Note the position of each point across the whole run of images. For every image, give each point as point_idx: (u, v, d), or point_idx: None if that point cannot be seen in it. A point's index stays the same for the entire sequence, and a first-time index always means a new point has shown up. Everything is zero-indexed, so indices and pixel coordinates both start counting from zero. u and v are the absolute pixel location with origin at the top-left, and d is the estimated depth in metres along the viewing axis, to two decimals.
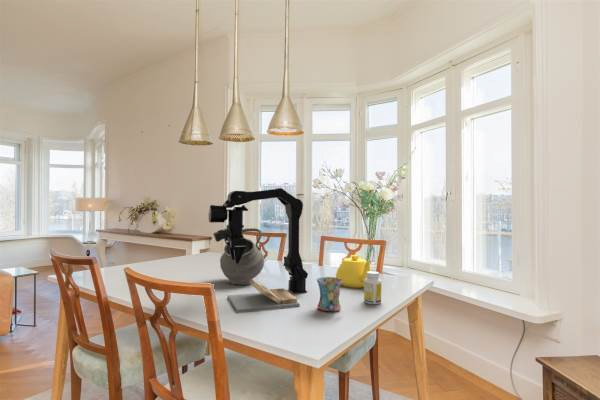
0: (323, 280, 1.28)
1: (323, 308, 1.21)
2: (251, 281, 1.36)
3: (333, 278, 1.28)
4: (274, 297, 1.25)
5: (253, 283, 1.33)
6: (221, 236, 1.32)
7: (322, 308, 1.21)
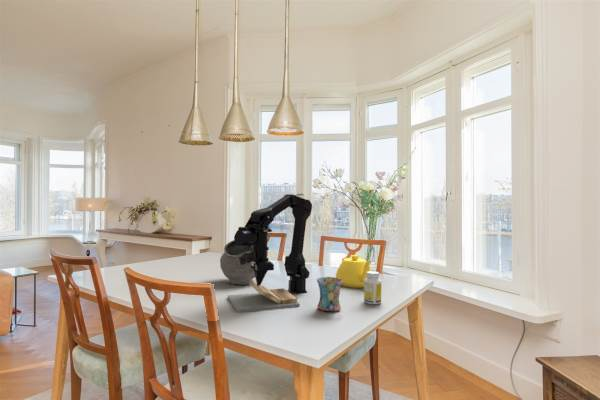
0: (323, 280, 1.28)
1: (323, 308, 1.21)
2: (251, 282, 1.36)
3: (333, 278, 1.28)
4: (274, 297, 1.25)
5: (253, 284, 1.33)
6: (246, 259, 1.25)
7: (322, 308, 1.21)
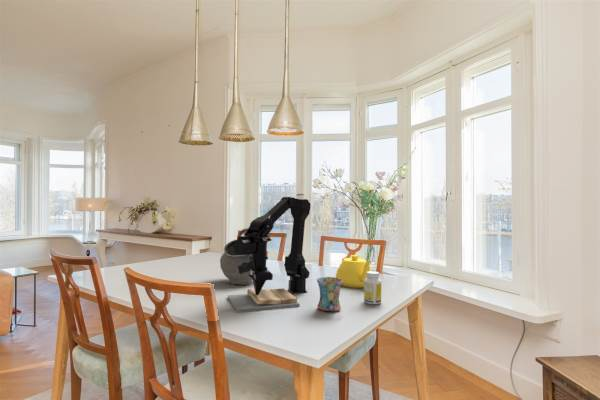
0: (323, 280, 1.28)
1: (323, 308, 1.21)
2: (248, 292, 1.35)
3: (333, 278, 1.28)
4: (273, 301, 1.25)
5: (250, 294, 1.32)
6: (245, 269, 1.25)
7: (322, 308, 1.21)
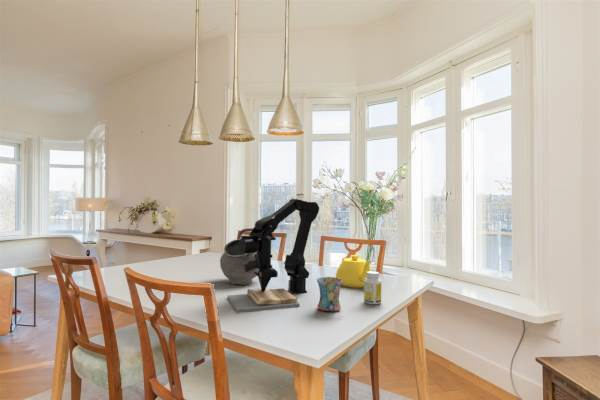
0: (323, 280, 1.28)
1: (323, 308, 1.21)
2: (248, 292, 1.35)
3: (333, 278, 1.28)
4: (273, 301, 1.25)
5: (250, 294, 1.32)
6: (251, 267, 1.31)
7: (322, 308, 1.21)
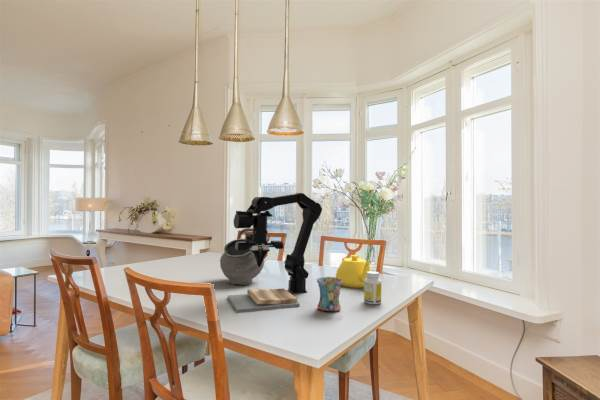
0: (323, 280, 1.28)
1: (323, 308, 1.21)
2: (248, 292, 1.35)
3: (333, 278, 1.28)
4: (273, 301, 1.25)
5: (250, 294, 1.32)
6: (245, 239, 1.43)
7: (322, 308, 1.21)
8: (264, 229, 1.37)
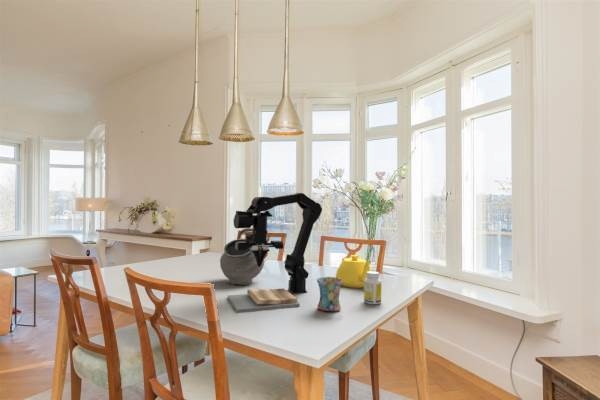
0: (323, 280, 1.28)
1: (323, 308, 1.21)
2: (248, 292, 1.35)
3: (333, 278, 1.28)
4: (273, 301, 1.25)
5: (250, 294, 1.32)
6: (245, 239, 1.43)
7: (322, 308, 1.21)
8: (264, 229, 1.37)
